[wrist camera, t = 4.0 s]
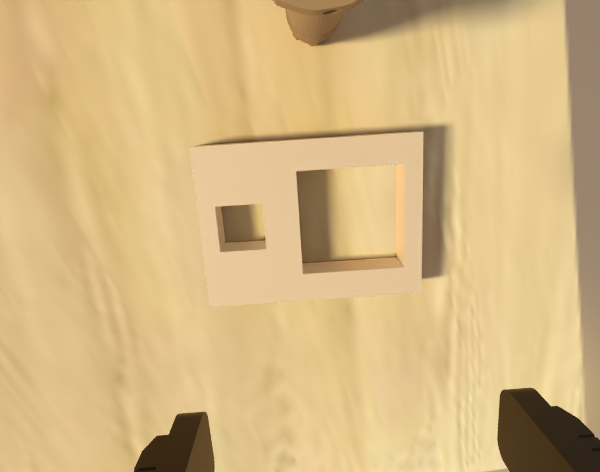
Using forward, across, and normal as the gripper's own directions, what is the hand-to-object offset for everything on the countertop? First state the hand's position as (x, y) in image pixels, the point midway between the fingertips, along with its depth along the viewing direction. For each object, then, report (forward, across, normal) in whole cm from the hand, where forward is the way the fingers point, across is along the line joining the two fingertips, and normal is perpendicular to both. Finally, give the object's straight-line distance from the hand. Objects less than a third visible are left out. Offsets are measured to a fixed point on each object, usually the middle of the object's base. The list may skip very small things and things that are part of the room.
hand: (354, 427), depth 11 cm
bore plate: (+28, 0, 0) cm, 28 cm away
